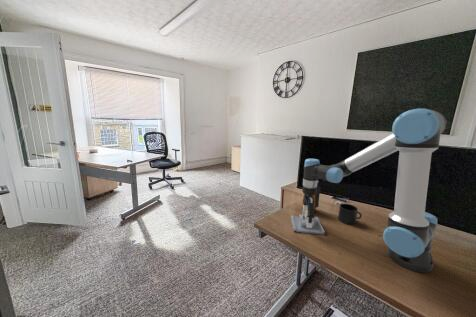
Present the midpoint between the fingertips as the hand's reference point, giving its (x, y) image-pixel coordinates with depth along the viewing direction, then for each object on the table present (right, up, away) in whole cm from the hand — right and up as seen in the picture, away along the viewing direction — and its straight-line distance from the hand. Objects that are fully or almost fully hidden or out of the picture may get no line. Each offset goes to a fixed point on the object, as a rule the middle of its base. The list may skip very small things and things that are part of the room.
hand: (306, 221), depth 111 cm
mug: (+28, -2, +6) cm, 29 cm away
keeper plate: (0, -3, +1) cm, 3 cm away
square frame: (0, -2, +1) cm, 2 cm away
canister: (+9, +1, +19) cm, 21 cm away
